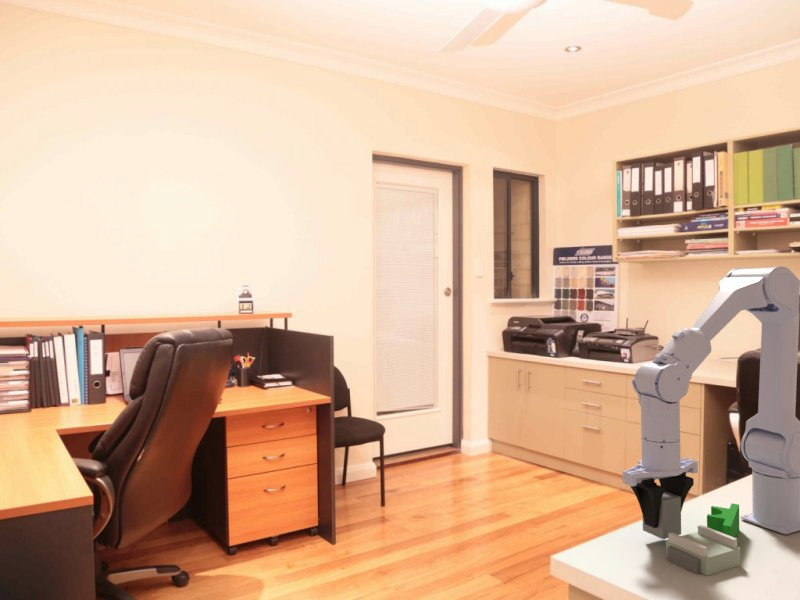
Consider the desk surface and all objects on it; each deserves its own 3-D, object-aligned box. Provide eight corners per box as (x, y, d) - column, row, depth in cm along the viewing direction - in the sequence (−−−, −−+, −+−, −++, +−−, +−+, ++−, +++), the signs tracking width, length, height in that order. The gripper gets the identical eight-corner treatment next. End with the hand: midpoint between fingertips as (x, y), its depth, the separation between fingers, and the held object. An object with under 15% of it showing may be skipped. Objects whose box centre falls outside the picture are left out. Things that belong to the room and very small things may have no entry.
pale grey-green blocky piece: (698, 547, 96) (698, 523, 96) (740, 565, 89) (740, 539, 89) (662, 557, 92) (661, 533, 92) (702, 576, 86) (702, 550, 86)
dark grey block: (654, 523, 101) (654, 487, 101) (681, 534, 97) (680, 496, 97) (637, 527, 100) (636, 491, 100) (663, 539, 95) (662, 501, 95)
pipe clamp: (714, 527, 104) (714, 500, 104) (739, 531, 102) (739, 504, 102) (704, 550, 95) (703, 520, 95) (731, 555, 93) (731, 525, 93)
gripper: (672, 428, 104) (673, 507, 104) (607, 438, 98) (609, 522, 98) (708, 436, 98) (709, 520, 98) (642, 448, 92) (643, 538, 92)
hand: (661, 522), depth 98 cm, fingers closed on dark grey block, 4 cm apart
